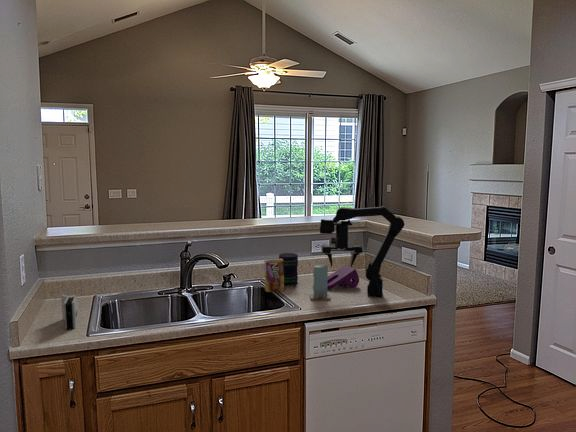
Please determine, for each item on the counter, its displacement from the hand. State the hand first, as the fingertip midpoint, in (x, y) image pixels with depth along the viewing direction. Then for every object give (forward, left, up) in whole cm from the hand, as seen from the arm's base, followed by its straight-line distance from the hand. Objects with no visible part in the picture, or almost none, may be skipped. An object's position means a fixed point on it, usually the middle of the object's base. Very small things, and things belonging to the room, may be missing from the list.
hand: (341, 267), depth 208 cm
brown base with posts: (+8, +10, -13) cm, 18 cm away
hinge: (+94, +69, -13) cm, 117 cm away
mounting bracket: (+3, -12, -14) cm, 18 cm away
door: (+8, +10, -12) cm, 18 cm away
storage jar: (+29, -10, -13) cm, 33 cm away
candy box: (+32, +4, -13) cm, 35 cm away
